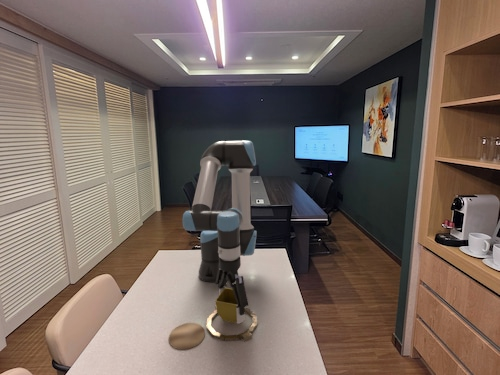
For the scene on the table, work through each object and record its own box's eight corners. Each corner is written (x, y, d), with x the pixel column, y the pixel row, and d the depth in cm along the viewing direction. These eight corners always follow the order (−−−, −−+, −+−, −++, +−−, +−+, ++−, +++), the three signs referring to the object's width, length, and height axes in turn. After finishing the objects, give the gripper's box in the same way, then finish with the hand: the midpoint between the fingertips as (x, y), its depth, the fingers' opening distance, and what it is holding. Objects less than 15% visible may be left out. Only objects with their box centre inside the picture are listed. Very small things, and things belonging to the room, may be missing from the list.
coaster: (164, 333, 98) (164, 331, 98) (196, 320, 105) (196, 318, 105) (176, 355, 88) (175, 353, 88) (210, 339, 95) (210, 337, 95)
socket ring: (197, 316, 106) (197, 313, 106) (238, 300, 116) (237, 297, 116) (224, 352, 89) (224, 347, 89) (269, 329, 99) (269, 325, 99)
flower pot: (238, 328, 97) (237, 305, 95) (215, 323, 100) (214, 300, 98) (247, 313, 105) (246, 291, 103) (225, 308, 108) (224, 287, 106)
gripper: (204, 247, 105) (207, 300, 110) (238, 273, 86) (240, 335, 90) (222, 243, 110) (224, 293, 114) (258, 266, 90) (259, 326, 94)
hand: (231, 312), depth 102 cm, fingers closed on flower pot, 12 cm apart
